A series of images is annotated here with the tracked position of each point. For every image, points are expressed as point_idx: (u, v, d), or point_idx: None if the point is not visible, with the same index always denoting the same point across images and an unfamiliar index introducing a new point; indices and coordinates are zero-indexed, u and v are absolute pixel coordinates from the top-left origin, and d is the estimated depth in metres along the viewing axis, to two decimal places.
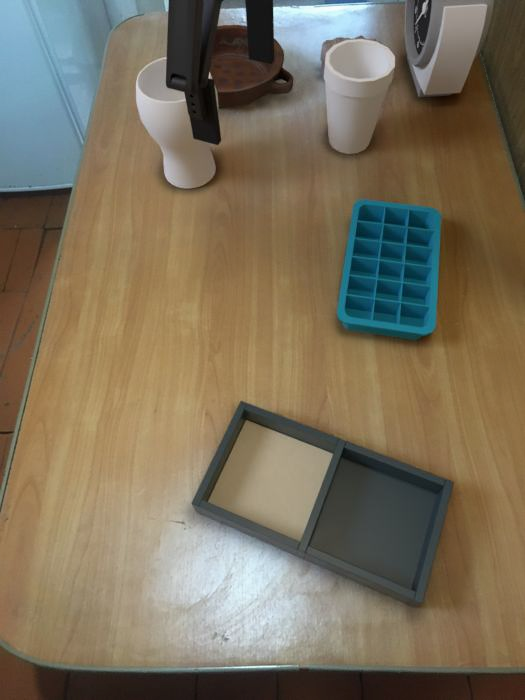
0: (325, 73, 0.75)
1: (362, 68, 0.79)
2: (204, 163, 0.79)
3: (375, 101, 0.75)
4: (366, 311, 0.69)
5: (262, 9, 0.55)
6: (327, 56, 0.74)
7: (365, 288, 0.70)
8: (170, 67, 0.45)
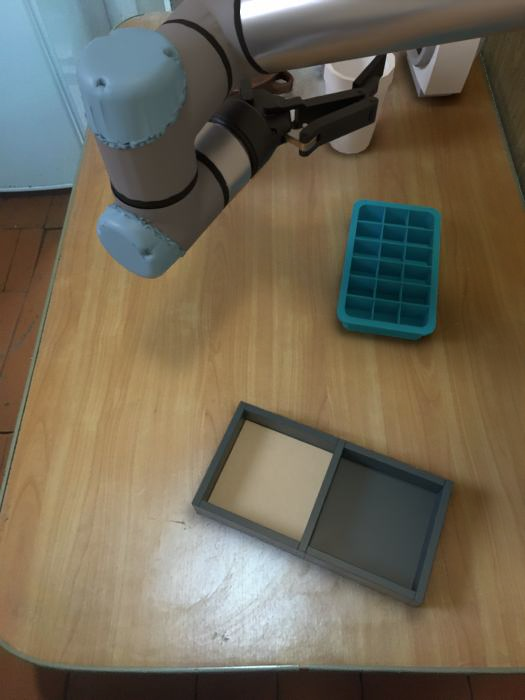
0: (325, 73, 0.75)
1: (362, 68, 0.79)
2: None
3: None
4: (366, 311, 0.69)
5: None
6: None
7: (365, 288, 0.70)
8: (364, 123, 0.58)
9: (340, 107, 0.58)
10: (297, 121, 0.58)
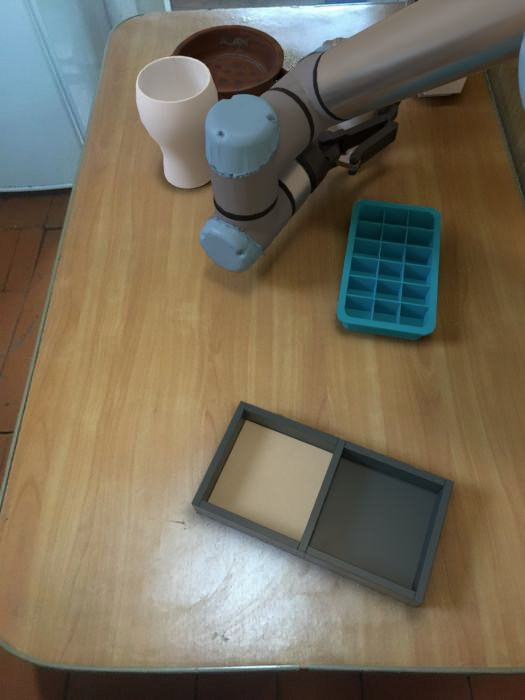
0: None
1: None
2: (204, 163, 0.79)
3: None
4: (366, 311, 0.69)
5: None
6: None
7: (365, 288, 0.70)
8: (389, 142, 0.76)
9: (371, 131, 0.75)
10: (341, 147, 0.75)
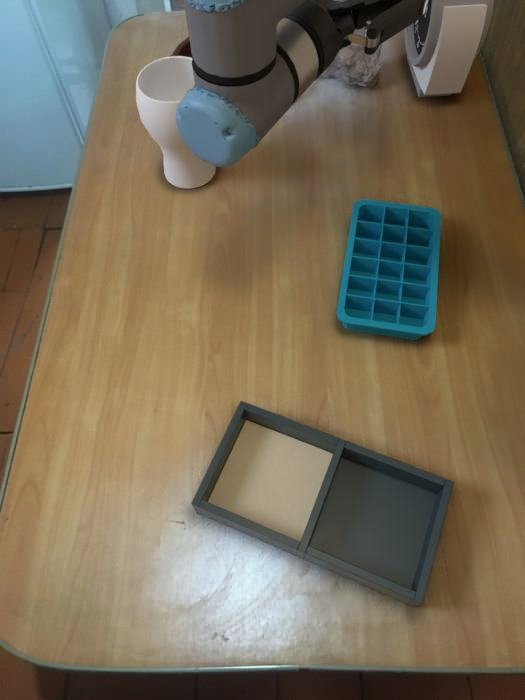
0: None
1: None
2: (204, 163, 0.79)
3: None
4: (366, 311, 0.69)
5: None
6: None
7: (365, 288, 0.70)
8: (415, 18, 0.61)
9: (393, 4, 0.60)
10: (356, 23, 0.60)
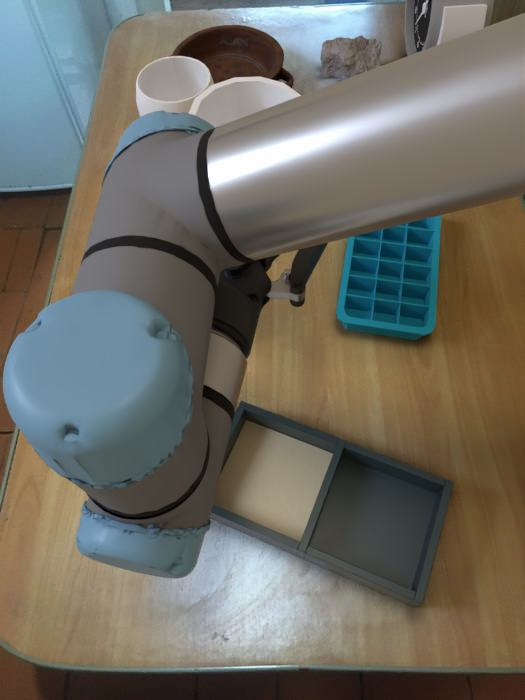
0: None
1: None
2: None
3: None
4: (366, 311, 0.69)
5: None
6: None
7: (365, 288, 0.70)
8: None
9: None
10: (263, 261, 0.44)
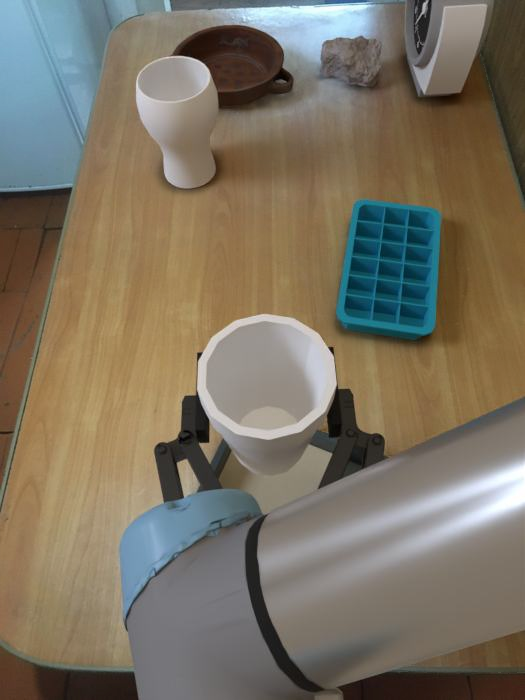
0: (218, 427, 0.37)
1: (252, 353, 0.42)
2: (204, 163, 0.79)
3: None
4: (366, 311, 0.69)
5: (206, 422, 0.41)
6: (205, 396, 0.36)
7: (365, 288, 0.70)
8: None
9: None
10: None
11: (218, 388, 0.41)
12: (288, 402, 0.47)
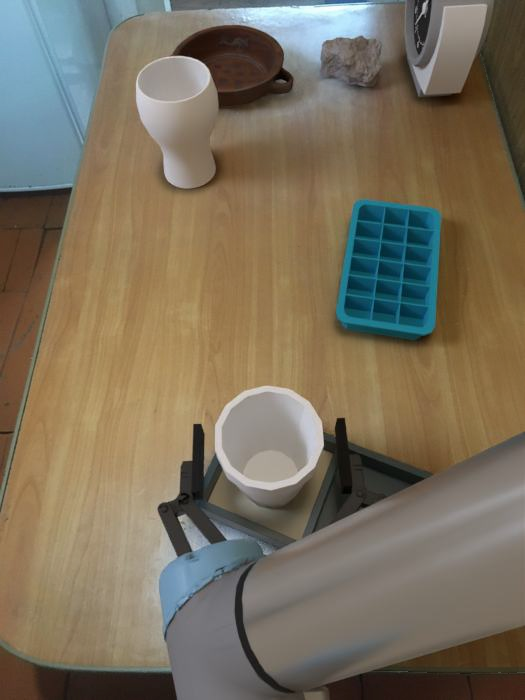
0: (231, 478, 0.47)
1: (257, 413, 0.52)
2: (204, 163, 0.79)
3: None
4: (366, 311, 0.69)
5: (201, 484, 0.50)
6: (221, 455, 0.46)
7: (364, 288, 0.70)
8: None
9: None
10: None
11: (230, 442, 0.51)
12: (286, 448, 0.58)
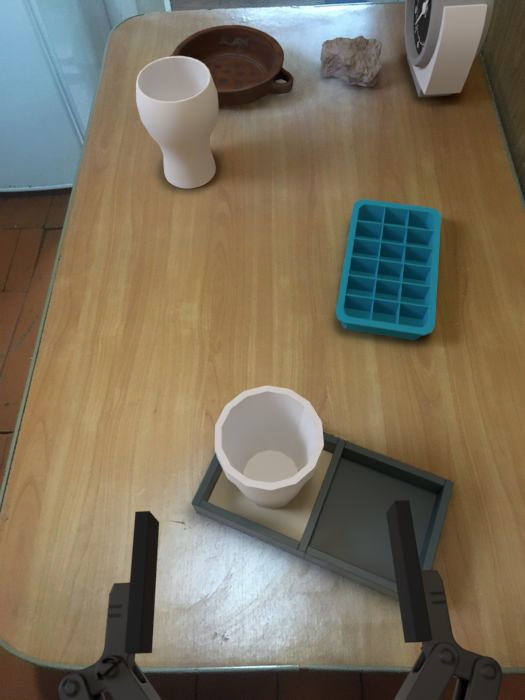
0: (231, 478, 0.47)
1: (257, 413, 0.52)
2: (204, 163, 0.79)
3: None
4: (365, 311, 0.69)
5: (145, 631, 0.27)
6: (221, 455, 0.46)
7: (364, 288, 0.70)
8: None
9: None
10: None
11: (230, 442, 0.51)
12: (286, 448, 0.58)
